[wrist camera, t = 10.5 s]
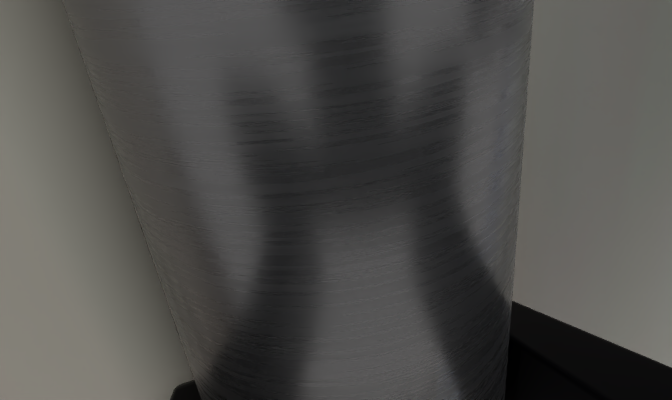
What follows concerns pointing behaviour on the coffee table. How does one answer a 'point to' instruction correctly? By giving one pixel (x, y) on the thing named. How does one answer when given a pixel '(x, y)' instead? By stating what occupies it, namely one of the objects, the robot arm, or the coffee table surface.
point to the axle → (323, 185)
